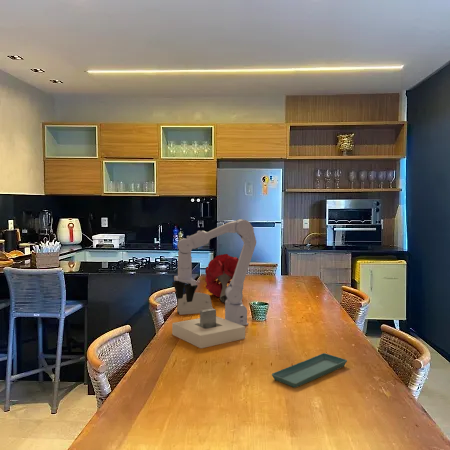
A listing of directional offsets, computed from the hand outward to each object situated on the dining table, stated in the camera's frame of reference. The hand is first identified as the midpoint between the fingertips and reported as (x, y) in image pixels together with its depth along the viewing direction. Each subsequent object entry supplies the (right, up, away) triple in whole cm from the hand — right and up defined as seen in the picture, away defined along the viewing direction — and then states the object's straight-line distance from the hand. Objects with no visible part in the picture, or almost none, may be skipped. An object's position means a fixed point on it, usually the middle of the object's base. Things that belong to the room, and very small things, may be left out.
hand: (184, 300), depth 188 cm
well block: (+10, -11, -15) cm, 22 cm away
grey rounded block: (+3, -10, +23) cm, 25 cm away
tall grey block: (+10, -11, -15) cm, 22 cm away
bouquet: (+16, -8, +54) cm, 57 cm away
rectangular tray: (+43, -14, -51) cm, 68 cm away
